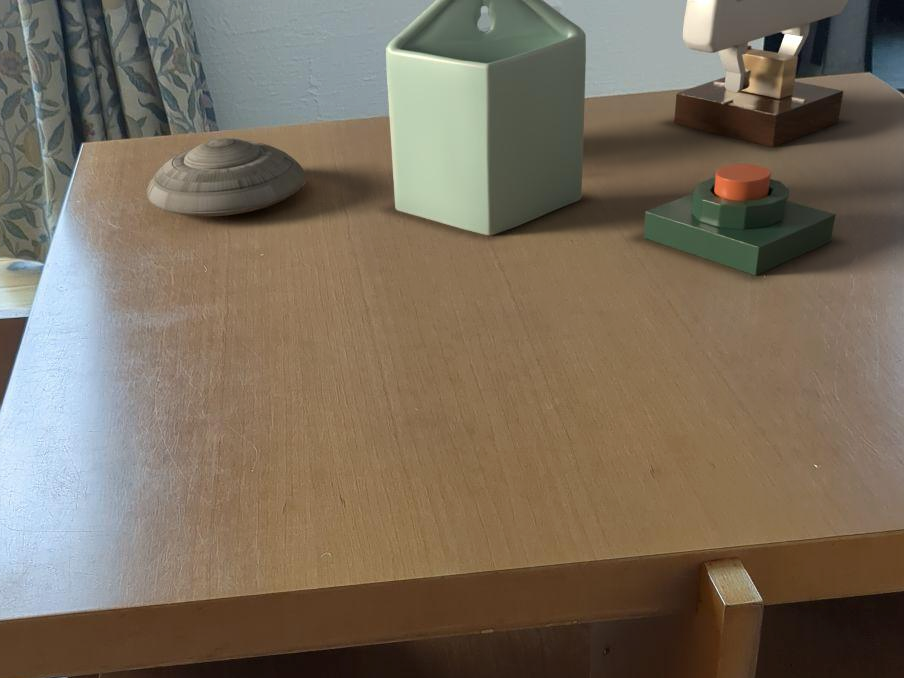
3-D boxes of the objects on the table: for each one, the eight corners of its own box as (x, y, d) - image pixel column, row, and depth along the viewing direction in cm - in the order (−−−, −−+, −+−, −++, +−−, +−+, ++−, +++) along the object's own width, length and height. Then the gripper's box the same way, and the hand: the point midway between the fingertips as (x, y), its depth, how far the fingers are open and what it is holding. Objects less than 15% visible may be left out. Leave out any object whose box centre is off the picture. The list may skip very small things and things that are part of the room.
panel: (840, 121, 113) (846, 88, 111) (770, 148, 108) (774, 113, 106) (741, 100, 121) (744, 68, 119) (671, 124, 116) (674, 91, 114)
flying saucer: (141, 187, 113) (130, 131, 110) (291, 164, 115) (284, 107, 112) (157, 240, 101) (146, 177, 98) (324, 212, 103) (317, 150, 100)
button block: (831, 241, 89) (839, 190, 87) (755, 275, 85) (762, 223, 83) (717, 208, 97) (722, 160, 94) (643, 237, 93) (646, 188, 90)
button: (779, 194, 88) (782, 171, 87) (744, 207, 87) (747, 185, 86) (736, 182, 91) (739, 160, 90) (702, 195, 89) (704, 173, 88)
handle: (793, 94, 111) (798, 53, 109) (779, 99, 110) (785, 57, 108) (738, 83, 115) (742, 43, 113) (725, 87, 114) (729, 48, 112)
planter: (392, 241, 96) (375, -16, 85) (395, 207, 103) (379, -36, 91) (590, 230, 95) (600, -33, 83) (580, 197, 101) (588, -52, 90)
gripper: (730, -56, 97) (714, 112, 105) (877, -93, 106) (851, 64, 114) (672, -62, 101) (661, 100, 109) (818, -97, 111) (798, 55, 119)
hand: (759, 81), depth 112 cm, fingers open, 5 cm apart
